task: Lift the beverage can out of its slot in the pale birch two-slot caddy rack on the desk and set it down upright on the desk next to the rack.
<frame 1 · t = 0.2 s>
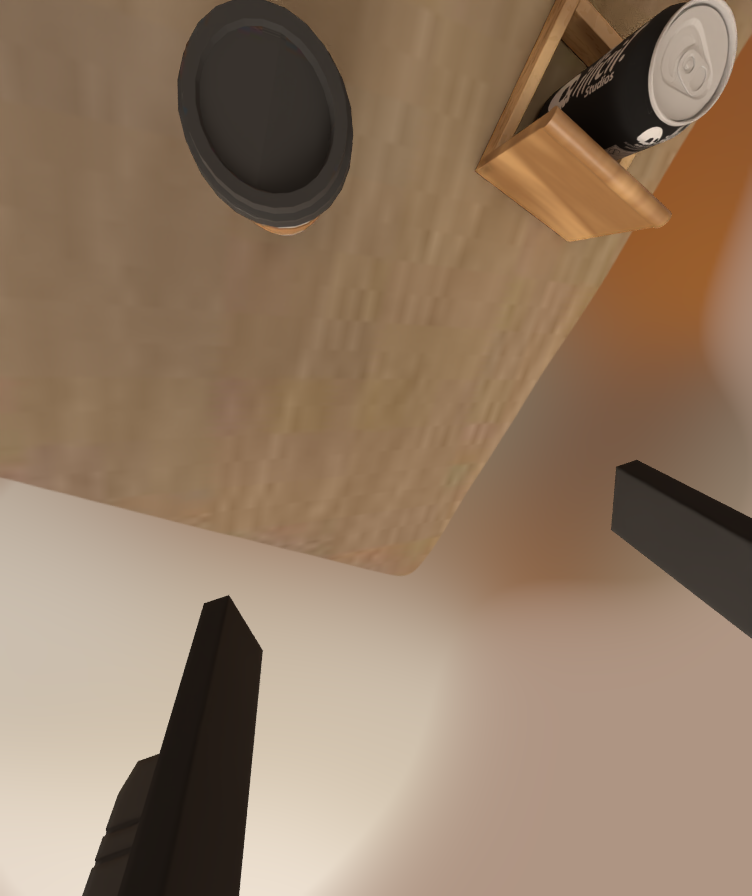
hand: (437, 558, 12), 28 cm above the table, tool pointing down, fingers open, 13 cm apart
beverage can: (560, 139, 32), resting in rack
coffee cup: (281, 192, 30), on the table
rack: (598, 67, 30), on the table
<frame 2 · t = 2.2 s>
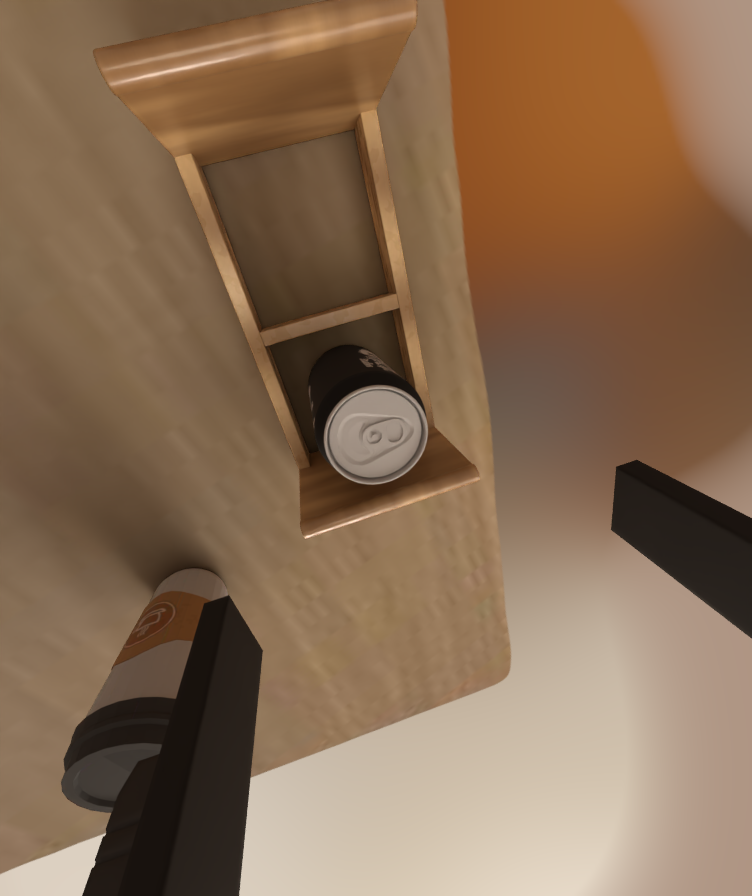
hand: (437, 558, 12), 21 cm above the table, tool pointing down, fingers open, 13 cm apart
beverage can: (347, 383, 30), resting in rack
coffee cup: (194, 589, 35), on the table
rack: (328, 317, 27), on the table
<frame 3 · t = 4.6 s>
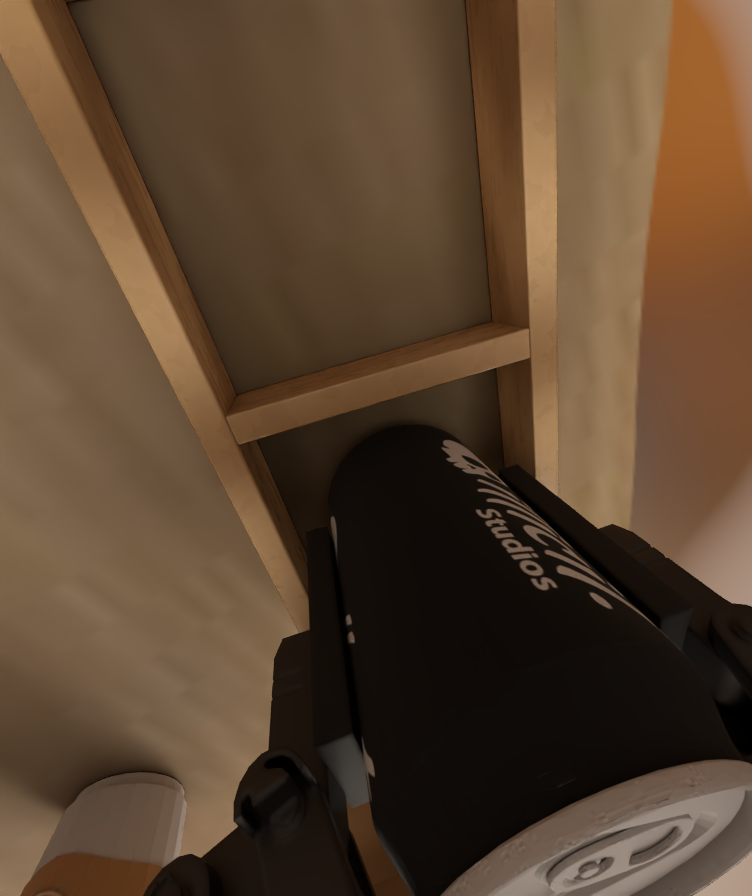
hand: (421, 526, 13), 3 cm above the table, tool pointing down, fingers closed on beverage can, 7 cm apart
beverage can: (399, 484, 16), resting in rack, touching gripper
coffee cup: (132, 796, 21), on the table
rack: (371, 369, 14), on the table
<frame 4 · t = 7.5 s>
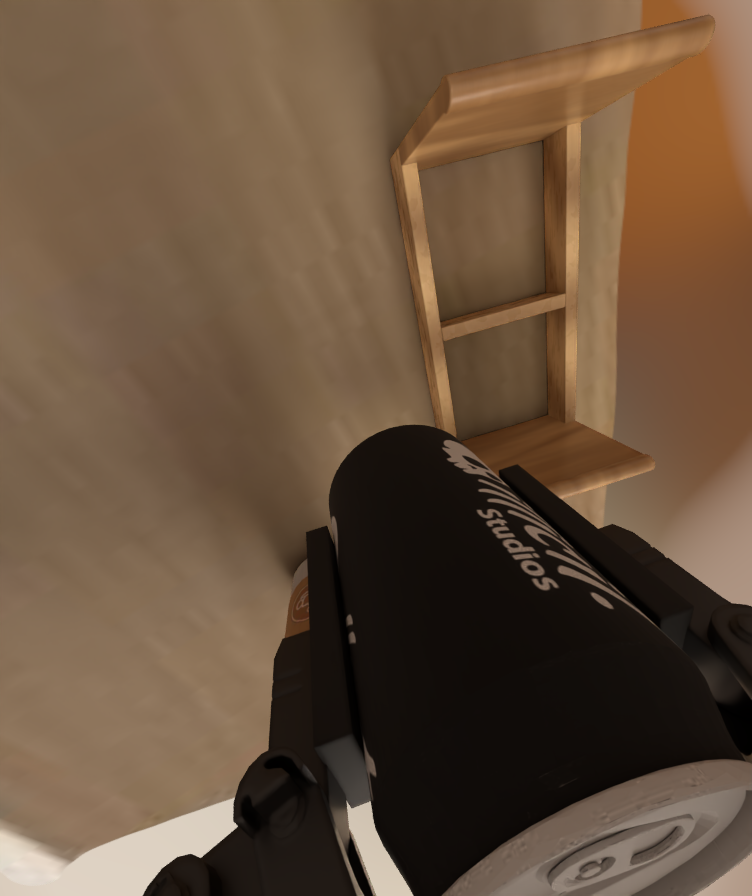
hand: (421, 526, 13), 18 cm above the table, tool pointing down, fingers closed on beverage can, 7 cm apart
beverage can: (399, 484, 16), point 15 cm above the table, touching gripper
coffee cup: (324, 573, 37), on the table
rack: (489, 314, 29), on the table
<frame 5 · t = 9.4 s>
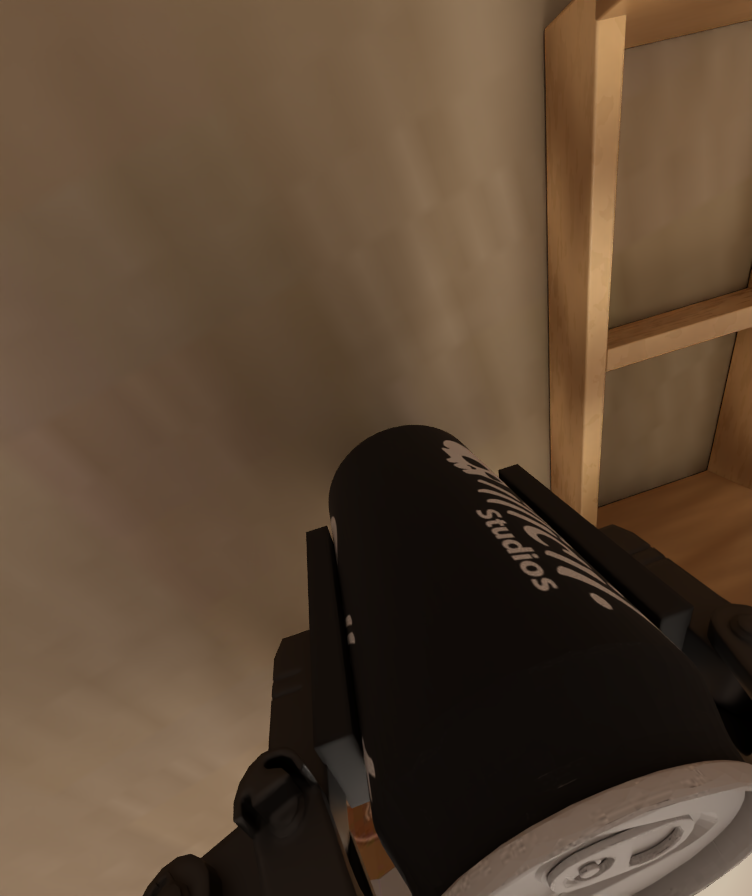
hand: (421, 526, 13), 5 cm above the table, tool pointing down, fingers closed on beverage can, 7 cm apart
beverage can: (399, 484, 16), point 2 cm above the table, touching gripper
coffee cup: (370, 695, 26), on the table
rack: (657, 324, 18), on the table
when the fingers open (3 cm above the table, at t = 10.4 s): beverage can stays where it is, on the table.
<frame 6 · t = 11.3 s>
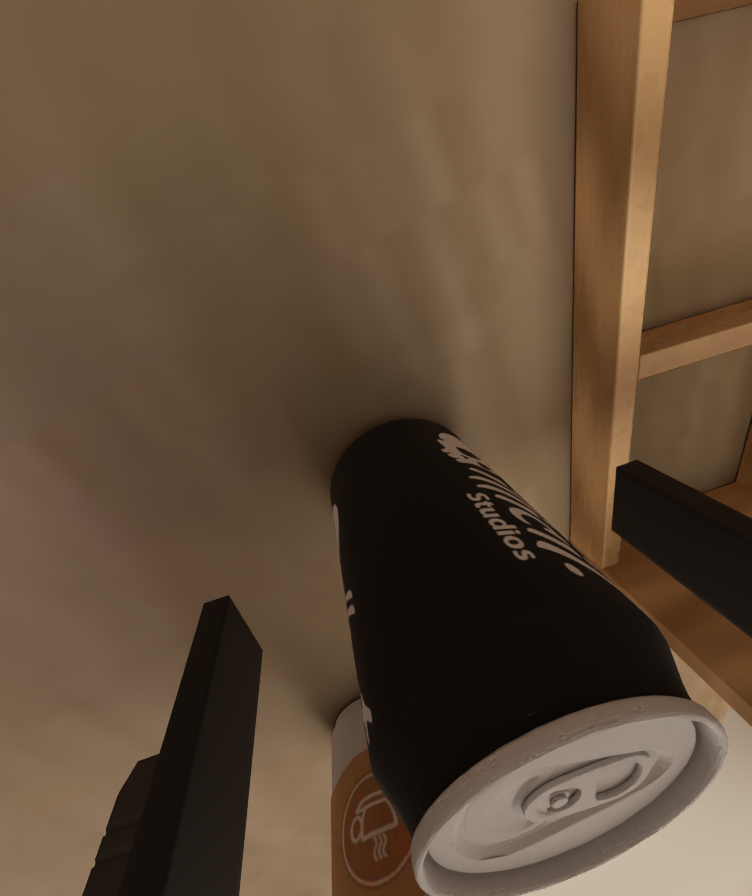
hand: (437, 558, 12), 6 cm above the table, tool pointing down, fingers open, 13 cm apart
beverage can: (398, 476, 17), on the table
coffee cup: (376, 715, 24), on the table
rack: (689, 327, 16), on the table
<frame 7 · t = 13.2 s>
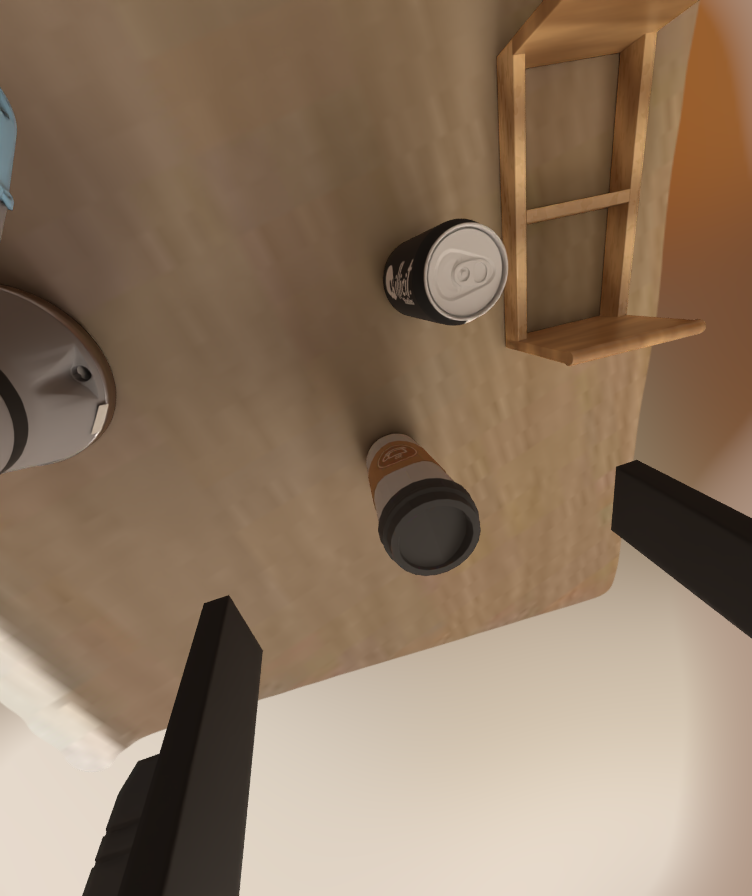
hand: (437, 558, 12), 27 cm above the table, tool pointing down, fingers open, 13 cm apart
beverage can: (414, 279, 34), on the table
coffee cup: (392, 456, 41), on the table
rack: (560, 211, 34), on the table
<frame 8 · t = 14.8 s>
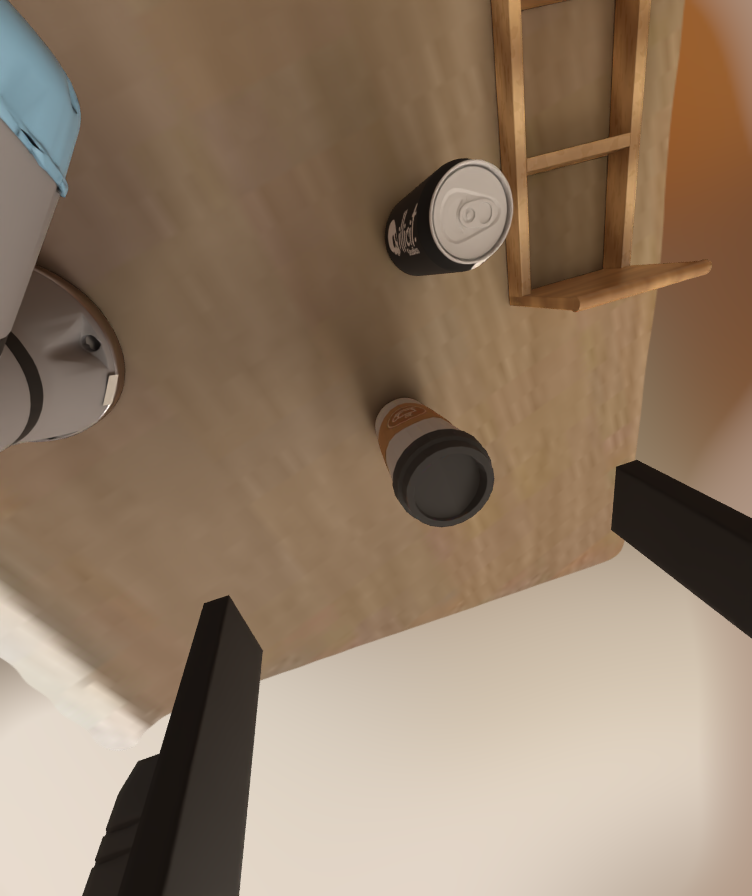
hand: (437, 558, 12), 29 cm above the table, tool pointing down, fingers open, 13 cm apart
beverage can: (416, 237, 34), on the table
coffee cup: (400, 422, 41), on the table
rack: (560, 161, 33), on the table
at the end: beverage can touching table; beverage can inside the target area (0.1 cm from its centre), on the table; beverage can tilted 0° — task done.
